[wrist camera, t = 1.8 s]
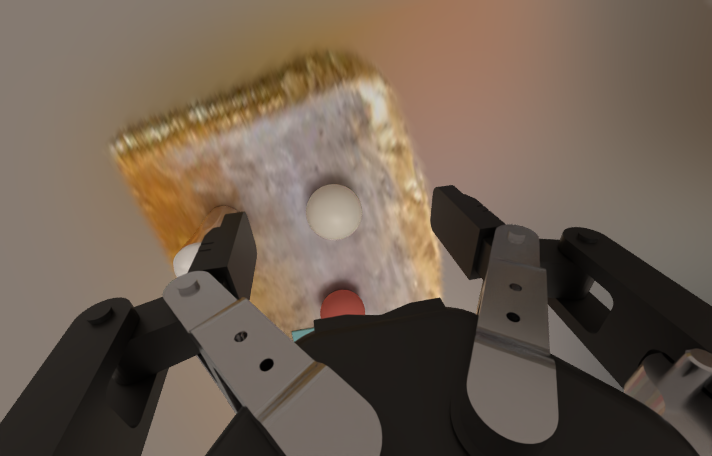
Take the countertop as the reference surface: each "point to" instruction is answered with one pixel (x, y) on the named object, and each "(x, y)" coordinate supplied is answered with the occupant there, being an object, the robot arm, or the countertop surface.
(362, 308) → the ball
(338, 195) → the ball
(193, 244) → the milkshake
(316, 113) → the countertop surface
